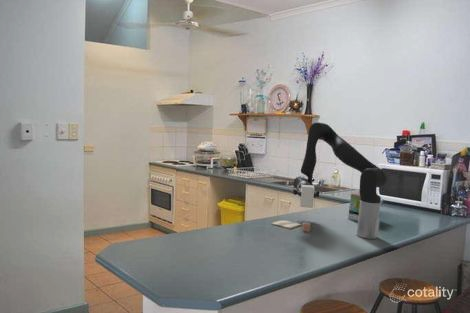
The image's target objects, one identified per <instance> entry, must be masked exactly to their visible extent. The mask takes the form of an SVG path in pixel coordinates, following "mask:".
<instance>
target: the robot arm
mask: <svg viewBox="0 0 470 313" xmlns="http://www.w3.org/2000/svg"><path fill="white" fill-rule="evenodd" d="M320 140H321V141H324V142H325V143H326V144H328V146H330V147H331V149H332V152H333V154H334V156H335V157H336V158H337V159H338V160H340V162H342V163H343V164H345V165H346V166H348V167H349V168H352V169H354V170H356V171H358V172H359V173H360V178H359V191H358V192H359V193H360V197H361V199H360V208H359V217H358V221H357V229H356V235H357V237H360V238H363V239H369V240H370V239H371V240H376V239H377V238H378V237H379V231H380V221H381V217H380V209H381V201H382V199H381V198H382V197H381V196H380V195H379V194H378V193H377V188H380V187H381V188H382V187H383V186H385V185H386V184H387V182H388V181H387V180H388V179H387V178H388V177H387V175H386V172H385V171H384V170H383V169H381V167H379V166H377V165H376V164H374V163H373V162H371V161H370V160H368V159H367V158H366V157H365V156H364V155H362V154H361V153H360V152H359V151H358V150H357V149H356V148H355V147H353V146H352V145H351V144H350V143H349V142H348V141H346V140H345V139H344V138H343V137H341V136H340V135H338V133H336V131H334V129H333V128H332V127H331V125H329V124H327V123H324V122H317V121H315V122H313V123H311V125H310V126H309V129H308V134H307V141H306V148H305V154H304V158H303V162H302V165H301V169H300V173H301V174H302V175H305V176H306V177H307V178H306V177H301V176H296V177H295V178H294V179H293V182H292V183H293V185H292V186H293V187H292V190H291V191H292V192H291V193H292V194H293V195H294V196H296V195H297V196H299V197H300V196H301V185H312V186H313V175H314V170H315V168H316V165H317V152H316V148H317V144H318V141H320ZM315 190H316V189H315ZM315 190H314V199H315V198H319V197H320V191H321V190H320V189H317V190H316V191H315Z"/></svg>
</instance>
